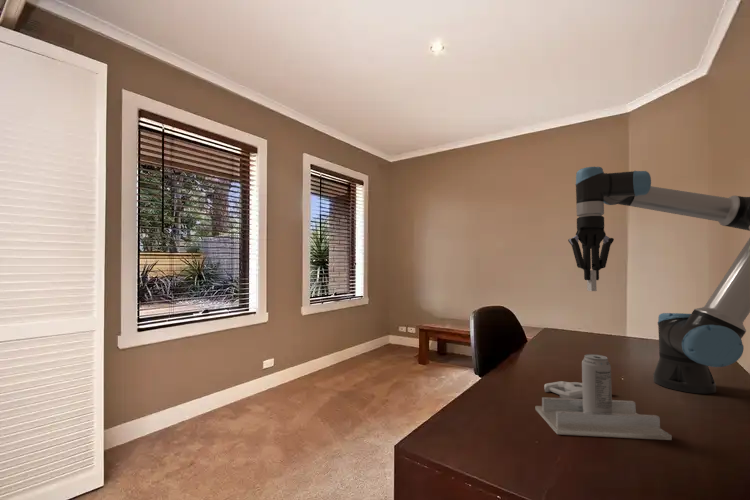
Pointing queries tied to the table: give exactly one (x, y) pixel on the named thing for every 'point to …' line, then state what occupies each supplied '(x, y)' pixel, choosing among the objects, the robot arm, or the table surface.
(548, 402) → the grey flanged channel tray
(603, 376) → the energy drink can
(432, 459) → the table surface
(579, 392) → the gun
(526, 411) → the table surface
